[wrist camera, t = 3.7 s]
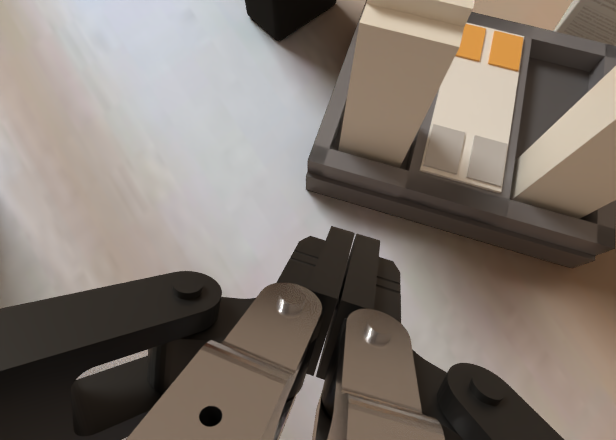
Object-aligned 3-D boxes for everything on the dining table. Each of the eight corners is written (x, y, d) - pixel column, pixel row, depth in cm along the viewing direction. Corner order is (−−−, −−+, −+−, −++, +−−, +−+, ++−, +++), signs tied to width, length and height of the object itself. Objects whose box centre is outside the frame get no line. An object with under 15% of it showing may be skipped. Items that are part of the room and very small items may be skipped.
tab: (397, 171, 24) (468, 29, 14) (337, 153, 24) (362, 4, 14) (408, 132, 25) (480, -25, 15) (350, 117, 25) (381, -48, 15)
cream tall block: (574, 221, 23) (793, 108, 13) (508, 202, 23) (668, 78, 13) (577, 179, 24) (781, 43, 14) (514, 161, 24) (666, 17, 14)
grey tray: (572, 268, 24) (619, 251, 20) (305, 189, 26) (306, 161, 22) (585, 79, 29) (624, 39, 26) (364, 24, 31) (372, -19, 28)
